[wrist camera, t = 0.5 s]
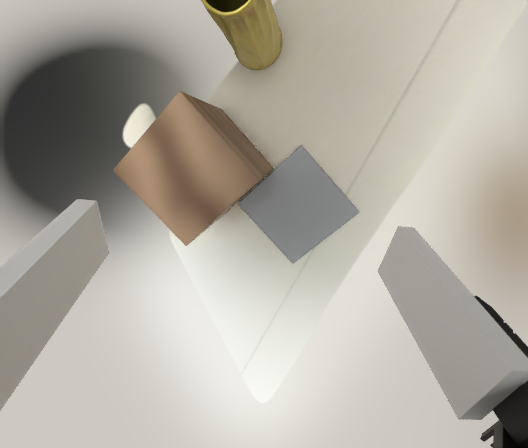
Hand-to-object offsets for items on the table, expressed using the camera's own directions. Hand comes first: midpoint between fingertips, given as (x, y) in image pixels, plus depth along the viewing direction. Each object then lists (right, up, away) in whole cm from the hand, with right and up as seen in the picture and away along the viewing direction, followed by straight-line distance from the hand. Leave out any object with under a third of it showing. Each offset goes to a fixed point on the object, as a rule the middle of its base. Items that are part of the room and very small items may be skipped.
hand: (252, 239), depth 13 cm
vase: (0, +23, +22) cm, 32 cm away
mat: (+5, +3, +27) cm, 27 cm away
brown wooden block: (-5, +9, +27) cm, 29 cm away
